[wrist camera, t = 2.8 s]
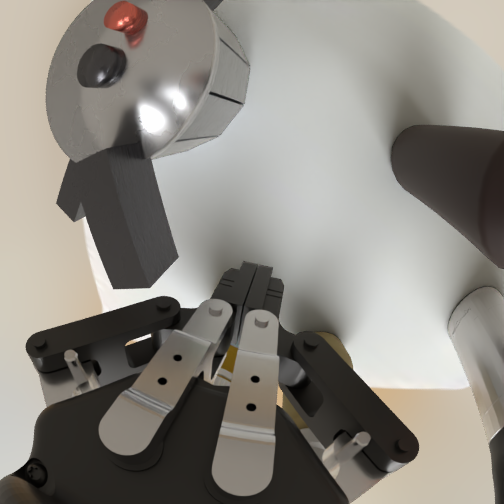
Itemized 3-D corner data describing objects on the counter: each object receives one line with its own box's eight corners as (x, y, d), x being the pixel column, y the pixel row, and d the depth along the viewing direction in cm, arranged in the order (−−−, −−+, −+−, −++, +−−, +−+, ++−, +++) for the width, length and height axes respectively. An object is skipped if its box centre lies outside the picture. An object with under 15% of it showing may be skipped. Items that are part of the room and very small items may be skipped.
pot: (188, -16, 16) (145, -52, 8) (300, 41, 18) (295, -1, 10) (80, 158, 27) (24, 175, 19) (157, 227, 29) (108, 264, 21)
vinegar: (375, 165, 22) (526, 279, 4) (413, 110, 19) (597, 112, 1) (425, 209, 22) (557, 354, 5) (461, 157, 19) (624, 237, 1)
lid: (52, 42, 13) (13, 39, 9) (200, -44, 9) (172, -75, 5) (98, 262, 21) (64, 289, 17) (263, 244, 17) (248, 282, 13)
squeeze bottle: (296, 316, 30) (273, 467, 14) (361, 330, 30) (374, 474, 14) (279, 361, 34) (253, 487, 18) (336, 372, 33) (333, 496, 17)
